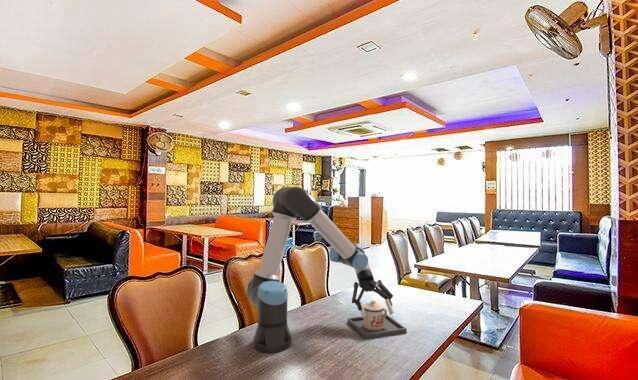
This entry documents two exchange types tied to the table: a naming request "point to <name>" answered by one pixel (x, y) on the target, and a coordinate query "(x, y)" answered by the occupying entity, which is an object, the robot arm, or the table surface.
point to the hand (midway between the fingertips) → (378, 315)
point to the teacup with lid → (374, 316)
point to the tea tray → (388, 329)
